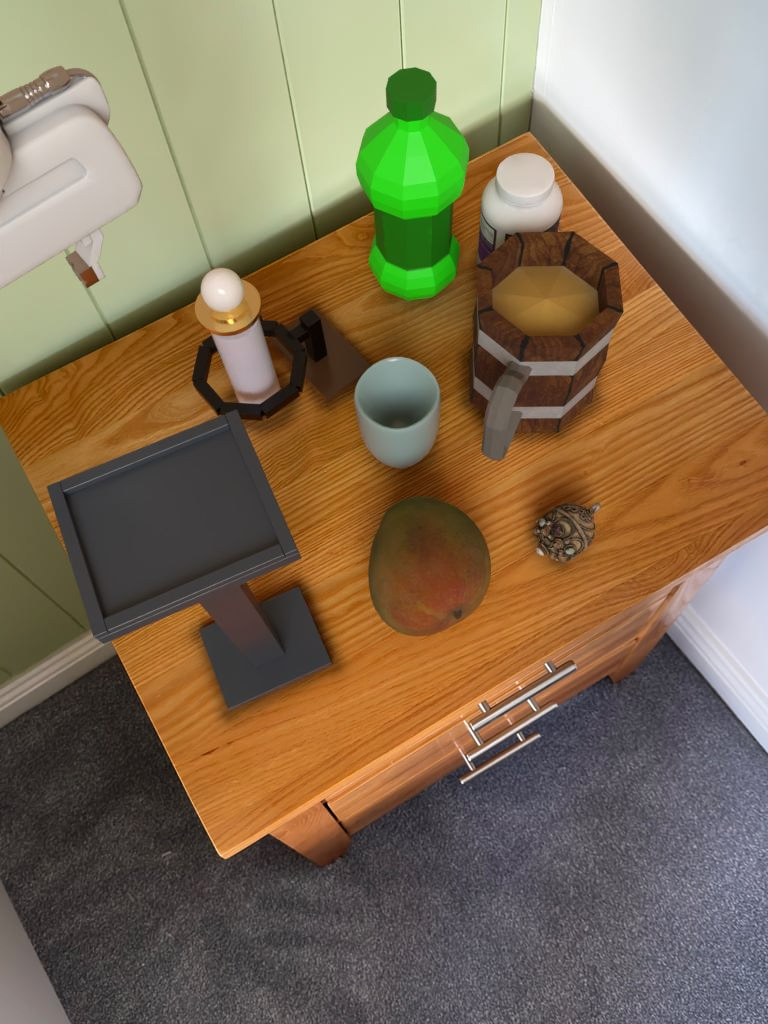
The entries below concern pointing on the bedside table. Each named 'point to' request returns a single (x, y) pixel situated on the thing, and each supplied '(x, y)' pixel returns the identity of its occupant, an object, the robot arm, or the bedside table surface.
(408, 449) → the cup
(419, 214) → the plastic bottle
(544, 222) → the pill bottle
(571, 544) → the pendant
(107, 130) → the robot arm
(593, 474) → the bedside table surface
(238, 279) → the perfume bottle
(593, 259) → the mug
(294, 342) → the ring stand
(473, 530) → the fruit
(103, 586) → the pedestal tray stand
